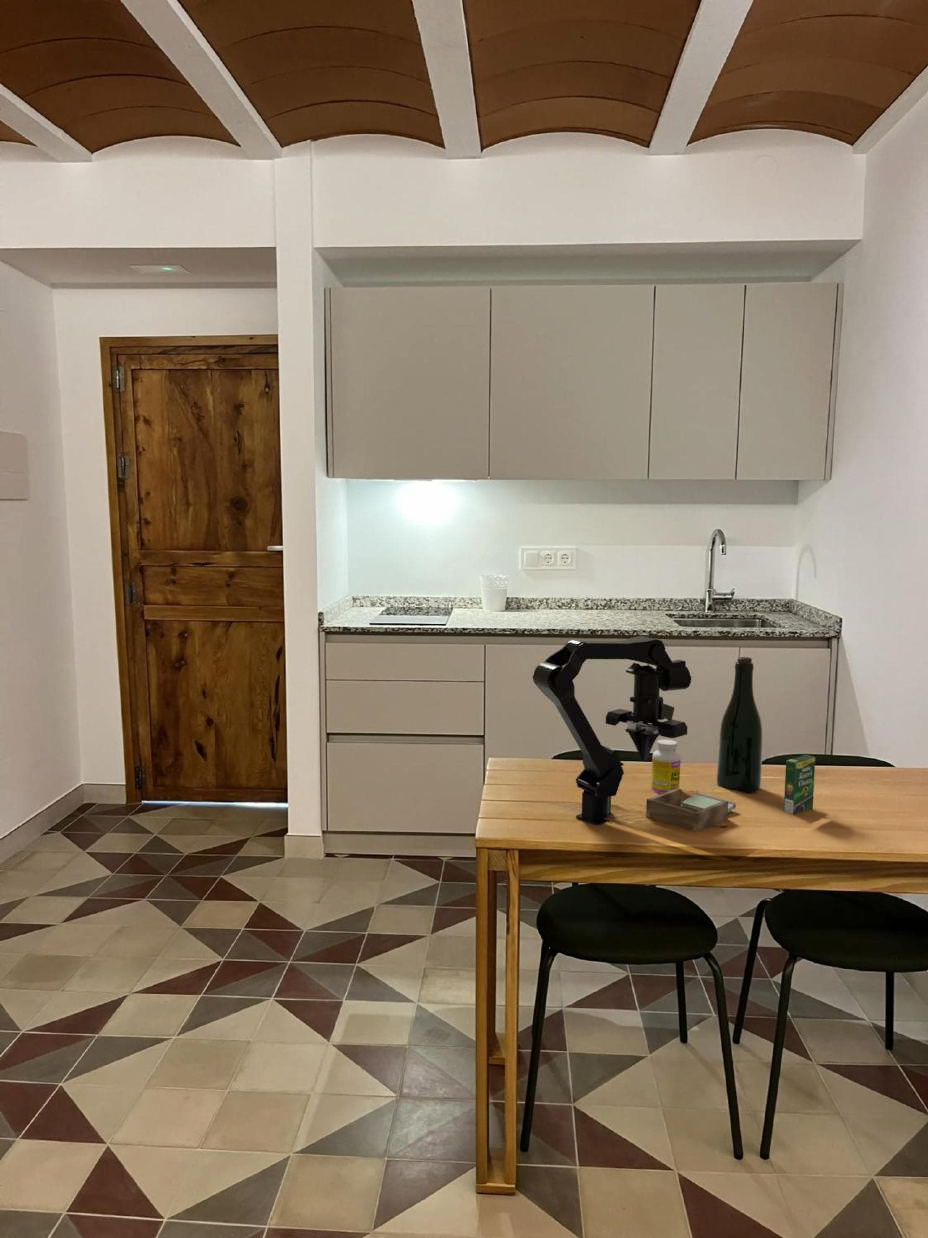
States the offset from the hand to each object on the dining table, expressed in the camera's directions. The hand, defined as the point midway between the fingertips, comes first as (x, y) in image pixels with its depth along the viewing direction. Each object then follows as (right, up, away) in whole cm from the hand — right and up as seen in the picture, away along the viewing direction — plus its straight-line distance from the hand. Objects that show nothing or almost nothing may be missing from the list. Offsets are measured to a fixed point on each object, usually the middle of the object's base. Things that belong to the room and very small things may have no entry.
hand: (644, 760), depth 207 cm
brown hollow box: (+8, -13, -6) cm, 16 cm away
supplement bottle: (+8, -11, +15) cm, 20 cm away
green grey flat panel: (+13, -11, -2) cm, 17 cm away
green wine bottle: (+27, -10, +19) cm, 35 cm away
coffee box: (+35, -13, +1) cm, 37 cm away
